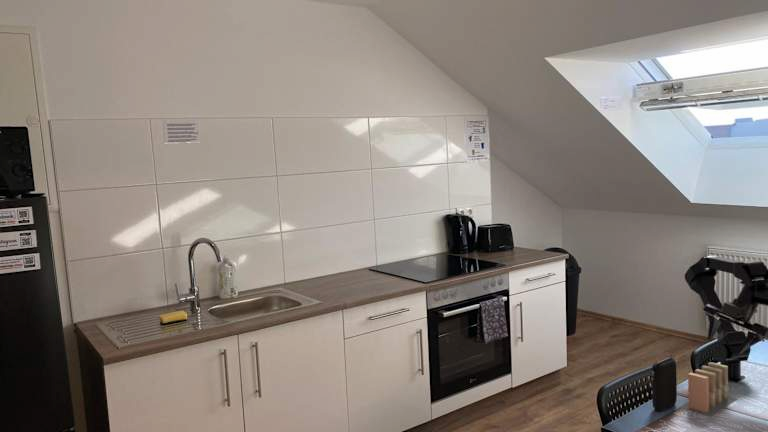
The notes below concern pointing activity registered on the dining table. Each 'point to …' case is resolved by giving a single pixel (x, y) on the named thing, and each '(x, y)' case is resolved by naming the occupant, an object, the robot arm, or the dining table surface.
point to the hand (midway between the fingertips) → (723, 346)
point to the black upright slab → (664, 384)
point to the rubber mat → (711, 410)
